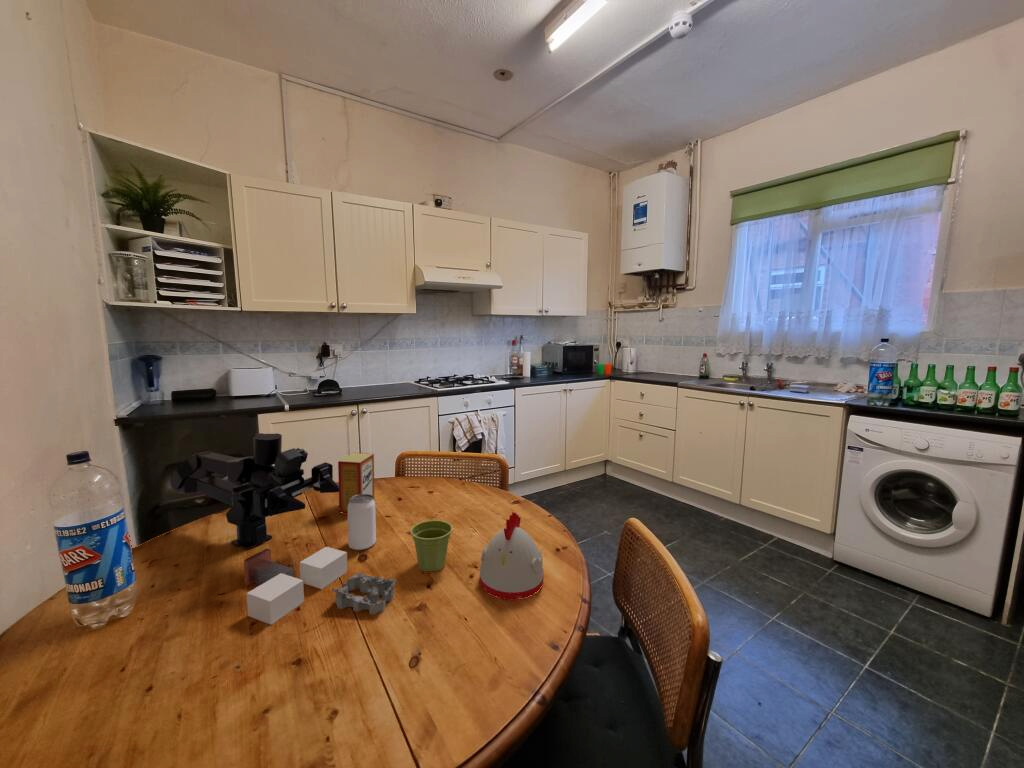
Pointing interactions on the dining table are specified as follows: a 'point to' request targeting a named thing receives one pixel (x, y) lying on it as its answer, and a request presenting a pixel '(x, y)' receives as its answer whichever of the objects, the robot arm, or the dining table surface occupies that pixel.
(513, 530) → the kitchen timer
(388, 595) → the egg carton
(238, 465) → the robot arm
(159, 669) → the dining table surface
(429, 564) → the plant pot
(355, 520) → the can
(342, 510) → the baking soda box
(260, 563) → the l-shaped block
